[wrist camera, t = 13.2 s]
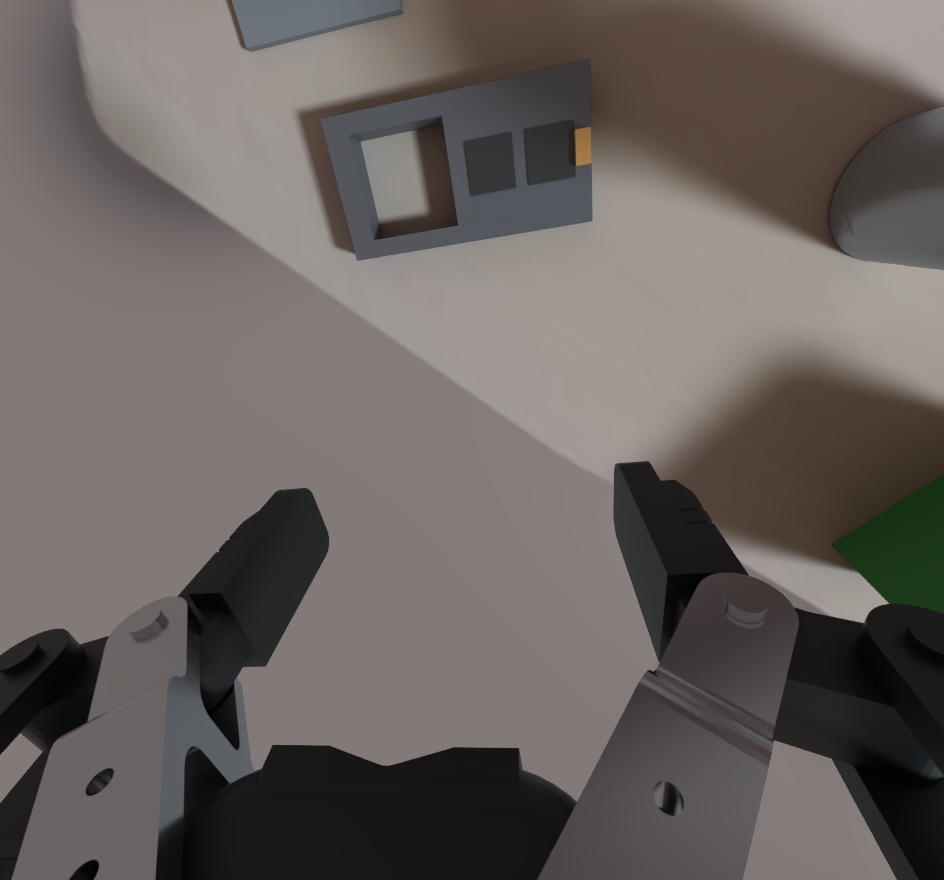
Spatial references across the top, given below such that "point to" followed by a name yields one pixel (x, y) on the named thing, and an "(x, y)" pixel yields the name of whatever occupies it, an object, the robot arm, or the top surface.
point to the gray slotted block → (481, 157)
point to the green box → (903, 549)
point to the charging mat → (304, 18)
